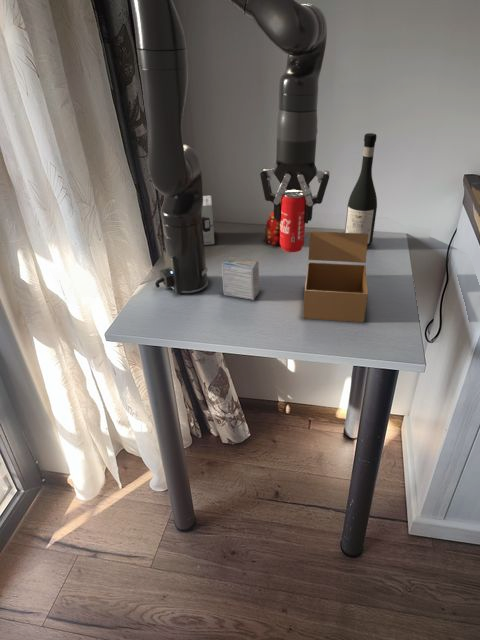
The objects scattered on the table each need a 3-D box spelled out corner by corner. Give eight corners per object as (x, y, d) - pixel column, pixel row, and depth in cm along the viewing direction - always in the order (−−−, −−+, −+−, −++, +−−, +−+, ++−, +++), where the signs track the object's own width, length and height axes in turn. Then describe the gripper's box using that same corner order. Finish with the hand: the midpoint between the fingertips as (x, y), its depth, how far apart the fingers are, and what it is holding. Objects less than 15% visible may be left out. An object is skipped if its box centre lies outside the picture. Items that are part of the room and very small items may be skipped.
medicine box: (259, 292, 119) (259, 260, 113) (253, 301, 115) (252, 268, 110) (230, 287, 121) (228, 255, 115) (223, 295, 117) (221, 263, 112)
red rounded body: (261, 238, 144) (260, 188, 135) (282, 234, 146) (283, 185, 137) (272, 248, 138) (272, 197, 129) (293, 244, 141) (295, 193, 132)
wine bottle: (368, 251, 136) (383, 139, 118) (341, 247, 139) (351, 136, 121) (374, 240, 142) (389, 131, 124) (347, 236, 145) (358, 129, 126)
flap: (308, 259, 115) (308, 259, 115) (365, 262, 113) (365, 262, 114) (310, 231, 113) (310, 231, 113) (368, 233, 111) (368, 233, 112)
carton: (306, 288, 120) (308, 262, 115) (361, 291, 118) (365, 265, 114) (303, 318, 109) (304, 290, 105) (363, 322, 107) (367, 294, 103)
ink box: (198, 233, 147) (194, 195, 140) (214, 232, 148) (211, 194, 141) (198, 245, 140) (194, 206, 133) (214, 244, 141) (212, 205, 134)
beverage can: (304, 253, 102) (307, 197, 95) (279, 253, 102) (281, 197, 95) (302, 243, 106) (306, 188, 99) (279, 242, 106) (281, 188, 99)
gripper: (256, 138, 88) (256, 226, 98) (334, 141, 87) (326, 230, 97) (261, 128, 94) (261, 212, 104) (335, 131, 92) (327, 216, 103)
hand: (292, 220), depth 100 cm, fingers closed on beverage can, 5 cm apart
